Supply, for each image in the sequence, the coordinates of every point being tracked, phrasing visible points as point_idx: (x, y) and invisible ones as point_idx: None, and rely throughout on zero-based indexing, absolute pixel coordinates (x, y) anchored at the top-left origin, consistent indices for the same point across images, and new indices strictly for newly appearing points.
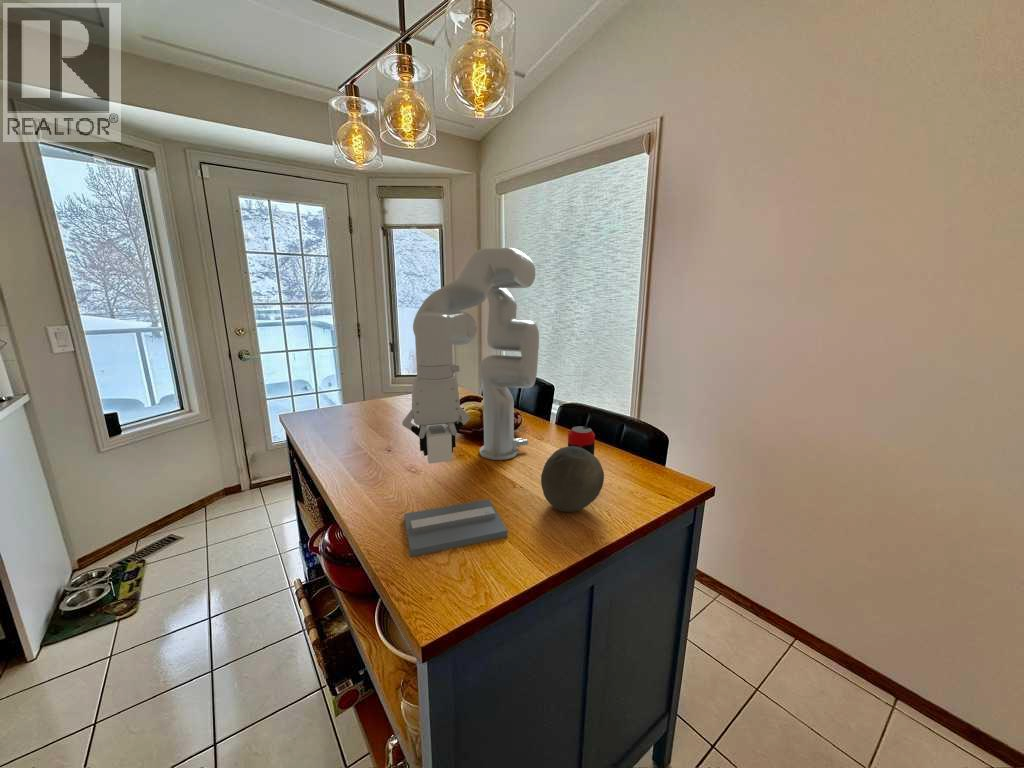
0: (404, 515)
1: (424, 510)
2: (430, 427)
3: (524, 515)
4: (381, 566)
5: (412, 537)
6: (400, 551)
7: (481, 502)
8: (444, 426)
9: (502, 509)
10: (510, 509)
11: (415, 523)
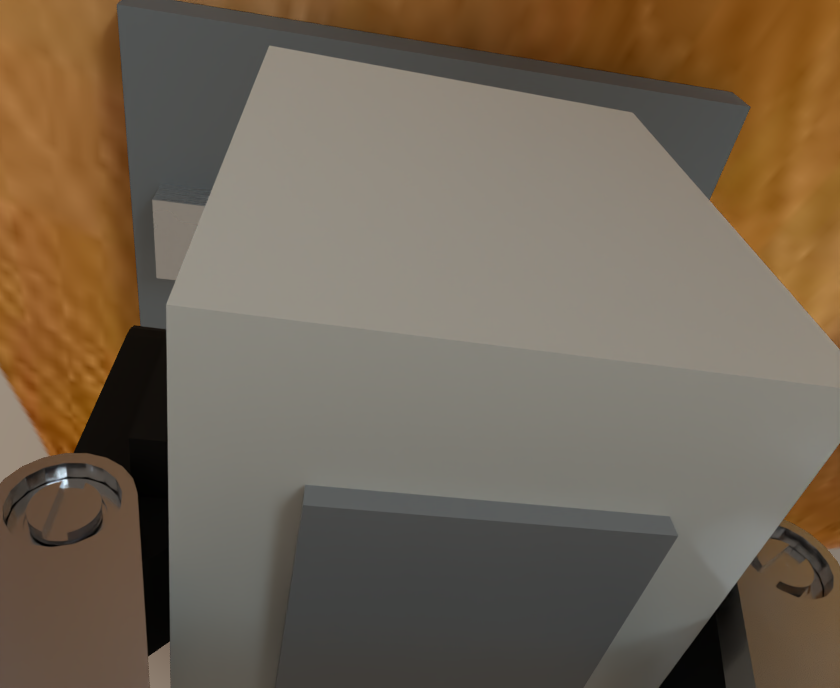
0: (119, 32)
1: (274, 36)
2: (320, 585)
3: (798, 289)
4: (19, 355)
5: (161, 291)
6: (105, 297)
7: (676, 128)
8: (682, 567)
9: (754, 185)
10: (790, 206)
11: (180, 240)
